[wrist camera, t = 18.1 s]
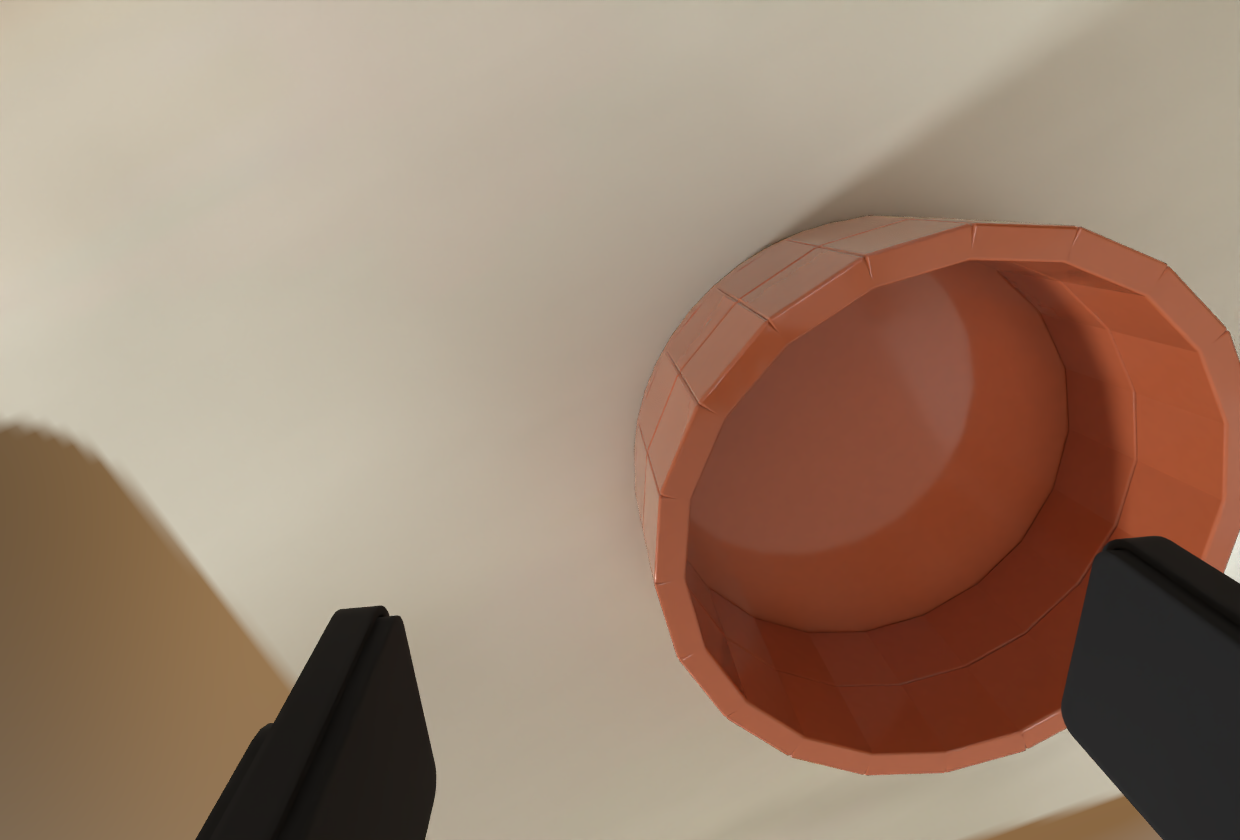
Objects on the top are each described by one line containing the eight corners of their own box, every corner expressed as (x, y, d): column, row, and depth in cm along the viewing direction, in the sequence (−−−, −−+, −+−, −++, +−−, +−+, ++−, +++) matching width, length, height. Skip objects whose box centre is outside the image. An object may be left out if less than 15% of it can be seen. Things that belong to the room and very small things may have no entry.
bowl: (643, 207, 17) (675, 211, 12) (1129, 223, 18) (1353, 235, 13) (625, 640, 21) (642, 783, 16) (1018, 634, 22) (1153, 767, 17)
